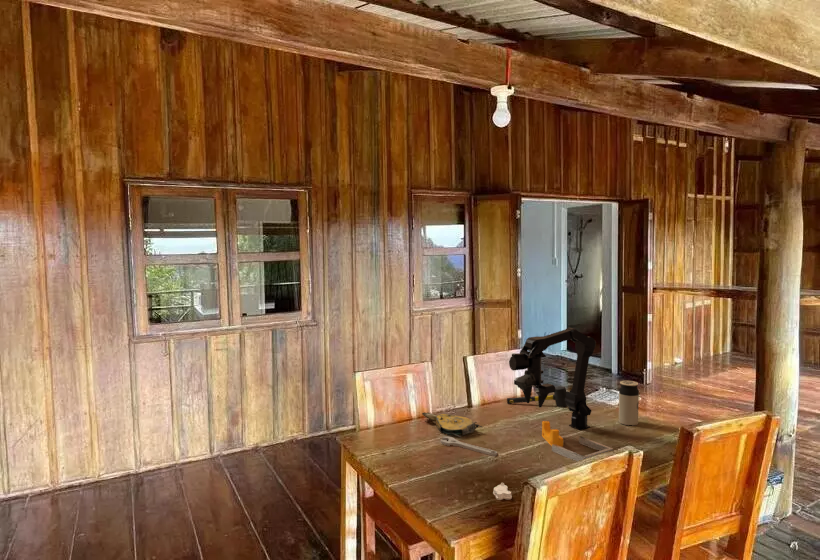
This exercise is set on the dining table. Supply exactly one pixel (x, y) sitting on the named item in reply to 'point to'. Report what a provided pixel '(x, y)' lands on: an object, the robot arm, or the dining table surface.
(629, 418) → the travel mug
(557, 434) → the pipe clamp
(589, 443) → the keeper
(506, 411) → the dining table surface
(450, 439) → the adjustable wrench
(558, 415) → the dining table surface
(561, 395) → the mallet
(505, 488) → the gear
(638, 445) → the dining table surface
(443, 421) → the pulley block
